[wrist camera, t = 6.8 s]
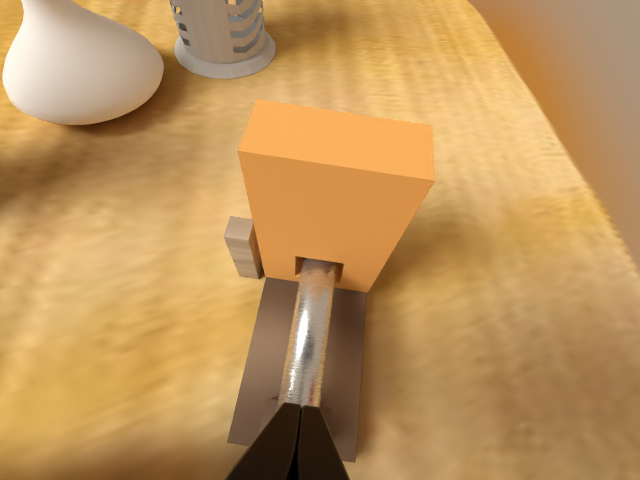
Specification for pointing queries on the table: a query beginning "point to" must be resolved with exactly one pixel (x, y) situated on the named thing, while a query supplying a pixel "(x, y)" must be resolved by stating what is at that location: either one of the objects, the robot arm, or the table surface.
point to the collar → (332, 188)
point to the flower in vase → (78, 65)
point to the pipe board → (271, 351)
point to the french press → (222, 38)
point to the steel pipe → (309, 335)
